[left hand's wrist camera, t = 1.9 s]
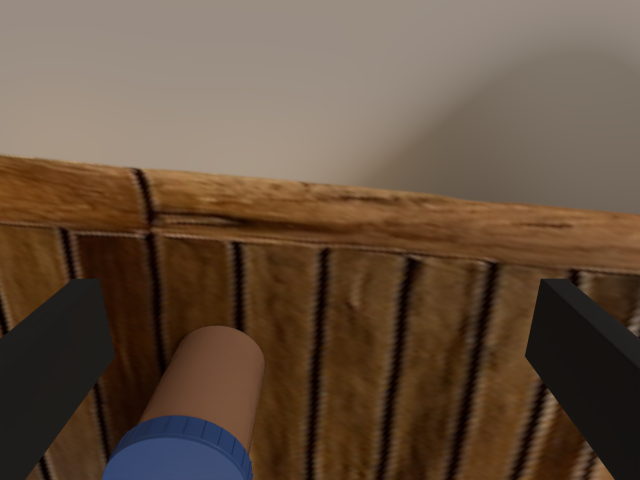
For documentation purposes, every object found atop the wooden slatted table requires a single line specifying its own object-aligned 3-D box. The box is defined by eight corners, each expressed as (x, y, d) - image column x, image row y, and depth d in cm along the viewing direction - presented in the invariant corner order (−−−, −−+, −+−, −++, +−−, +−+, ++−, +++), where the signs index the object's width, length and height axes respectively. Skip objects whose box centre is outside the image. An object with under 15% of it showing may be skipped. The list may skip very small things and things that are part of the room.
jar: (156, 356, 47) (84, 478, 33) (224, 308, 45) (179, 418, 31) (216, 413, 50) (174, 548, 36) (283, 371, 48) (267, 497, 33)
